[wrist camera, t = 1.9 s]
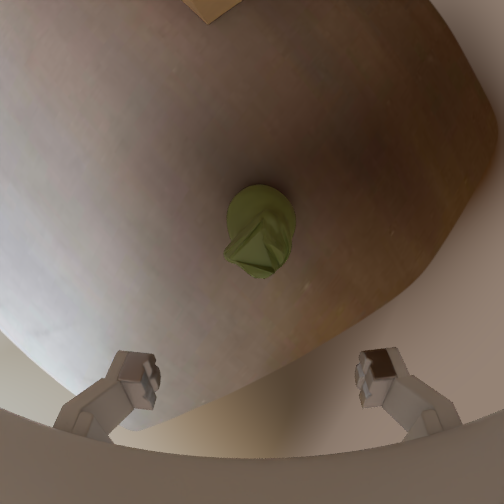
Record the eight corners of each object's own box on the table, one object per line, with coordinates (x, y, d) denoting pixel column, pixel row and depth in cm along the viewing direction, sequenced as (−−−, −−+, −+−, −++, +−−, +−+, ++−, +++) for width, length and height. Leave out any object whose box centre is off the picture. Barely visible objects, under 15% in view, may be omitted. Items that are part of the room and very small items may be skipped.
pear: (260, 245, 30) (260, 311, 21) (217, 209, 28) (197, 264, 19) (302, 204, 28) (322, 257, 19) (258, 165, 26) (259, 200, 17)
